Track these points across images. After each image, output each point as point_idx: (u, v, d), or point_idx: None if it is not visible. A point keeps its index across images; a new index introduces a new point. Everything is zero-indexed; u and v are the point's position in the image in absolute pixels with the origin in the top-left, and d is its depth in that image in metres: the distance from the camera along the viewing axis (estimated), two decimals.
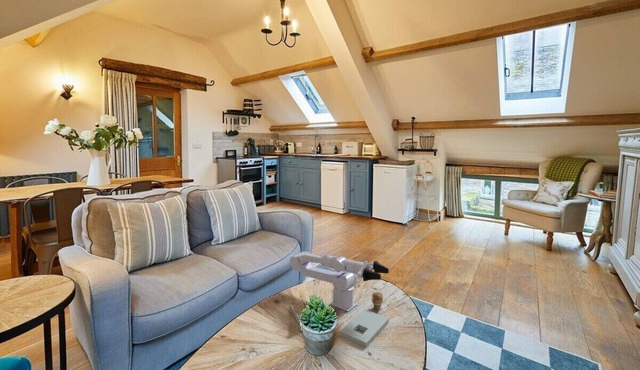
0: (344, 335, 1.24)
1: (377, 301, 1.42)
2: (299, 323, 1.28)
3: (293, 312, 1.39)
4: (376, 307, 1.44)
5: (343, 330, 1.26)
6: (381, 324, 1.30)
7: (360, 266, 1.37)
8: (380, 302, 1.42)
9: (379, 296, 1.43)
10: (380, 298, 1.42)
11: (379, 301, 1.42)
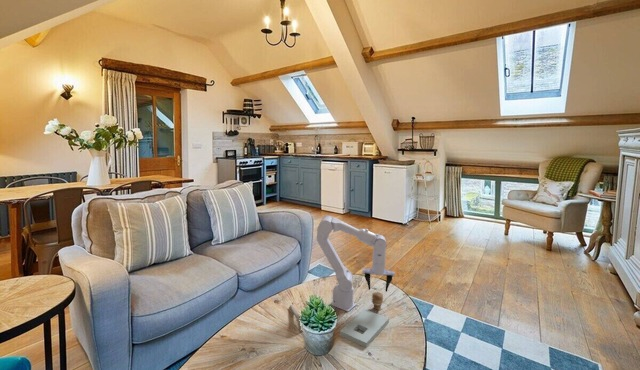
0: (344, 335, 1.24)
1: (377, 301, 1.42)
2: (299, 323, 1.28)
3: (293, 312, 1.39)
4: (376, 307, 1.44)
5: (343, 330, 1.26)
6: (381, 324, 1.30)
7: None
8: (380, 302, 1.42)
9: (379, 296, 1.43)
10: (380, 298, 1.42)
11: (379, 301, 1.42)
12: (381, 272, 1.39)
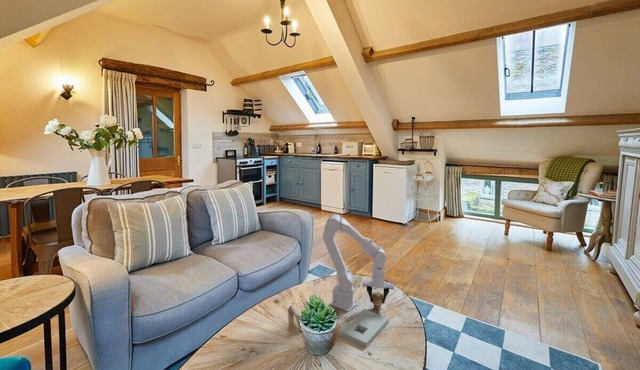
0: (344, 335, 1.24)
1: (377, 301, 1.42)
2: (299, 323, 1.28)
3: (293, 312, 1.39)
4: (376, 307, 1.44)
5: (343, 330, 1.26)
6: (381, 324, 1.30)
7: None
8: (380, 302, 1.42)
9: (379, 296, 1.43)
10: (380, 298, 1.42)
11: (379, 301, 1.42)
12: (380, 285, 1.40)
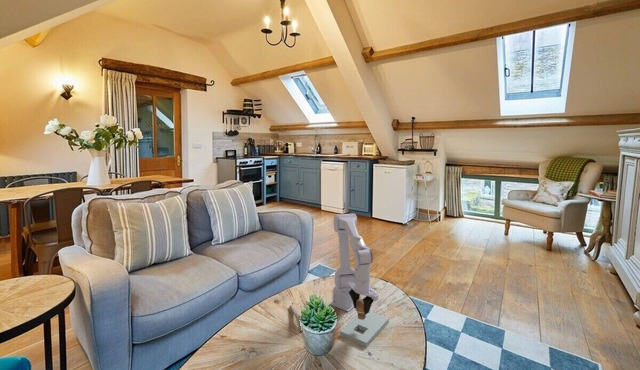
0: (344, 335, 1.24)
1: (357, 307, 1.24)
2: (299, 323, 1.28)
3: (293, 312, 1.39)
4: (358, 315, 1.25)
5: (343, 330, 1.26)
6: (381, 324, 1.30)
7: (369, 286, 1.24)
8: (361, 310, 1.23)
9: (361, 303, 1.24)
10: (361, 306, 1.23)
11: (360, 309, 1.23)
12: (360, 291, 1.21)
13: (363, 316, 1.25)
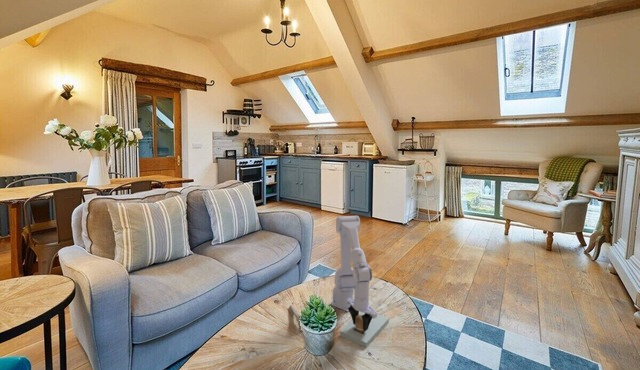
0: (344, 335, 1.24)
1: (356, 324, 1.25)
2: (299, 323, 1.28)
3: (293, 312, 1.39)
4: (357, 331, 1.26)
5: (343, 330, 1.26)
6: (381, 324, 1.30)
7: (368, 303, 1.24)
8: (360, 327, 1.24)
9: (360, 320, 1.25)
10: (360, 322, 1.24)
11: (359, 325, 1.24)
12: (359, 308, 1.22)
13: (362, 332, 1.25)
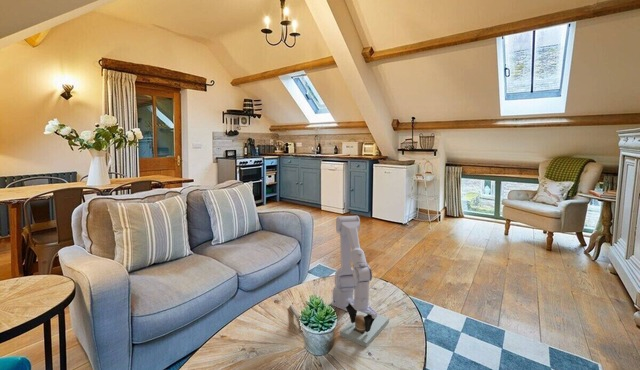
0: (344, 335, 1.24)
1: (356, 324, 1.25)
2: (299, 323, 1.28)
3: (293, 312, 1.39)
4: (357, 331, 1.26)
5: (343, 330, 1.26)
6: (381, 324, 1.30)
7: (368, 303, 1.24)
8: (360, 327, 1.24)
9: (360, 320, 1.25)
10: (360, 322, 1.24)
11: (359, 325, 1.24)
12: (359, 308, 1.22)
13: (362, 332, 1.25)
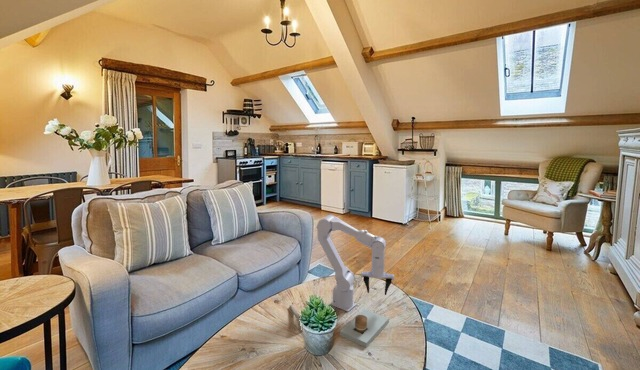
0: (344, 335, 1.24)
1: (356, 324, 1.25)
2: (299, 323, 1.28)
3: (293, 312, 1.39)
4: (357, 331, 1.26)
5: (343, 330, 1.26)
6: (381, 324, 1.30)
7: None
8: (360, 327, 1.24)
9: (360, 320, 1.25)
10: (360, 323, 1.24)
11: (359, 325, 1.24)
12: (380, 275, 1.36)
13: (362, 332, 1.25)
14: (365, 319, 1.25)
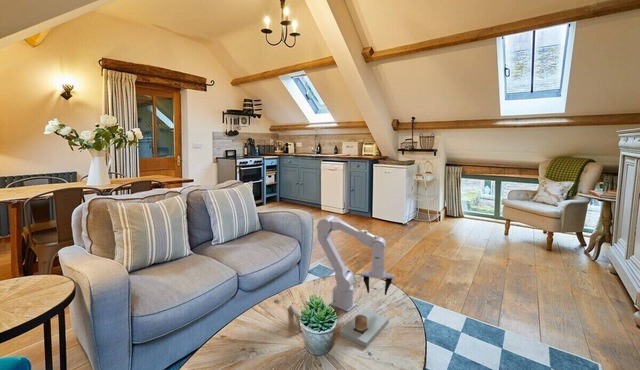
0: (344, 335, 1.24)
1: (356, 324, 1.25)
2: (299, 323, 1.28)
3: (293, 312, 1.39)
4: (357, 331, 1.26)
5: (343, 330, 1.26)
6: (381, 324, 1.30)
7: None
8: (360, 327, 1.24)
9: (360, 320, 1.25)
10: (360, 322, 1.24)
11: (359, 325, 1.24)
12: (380, 275, 1.36)
13: (362, 332, 1.25)
14: (365, 319, 1.25)
